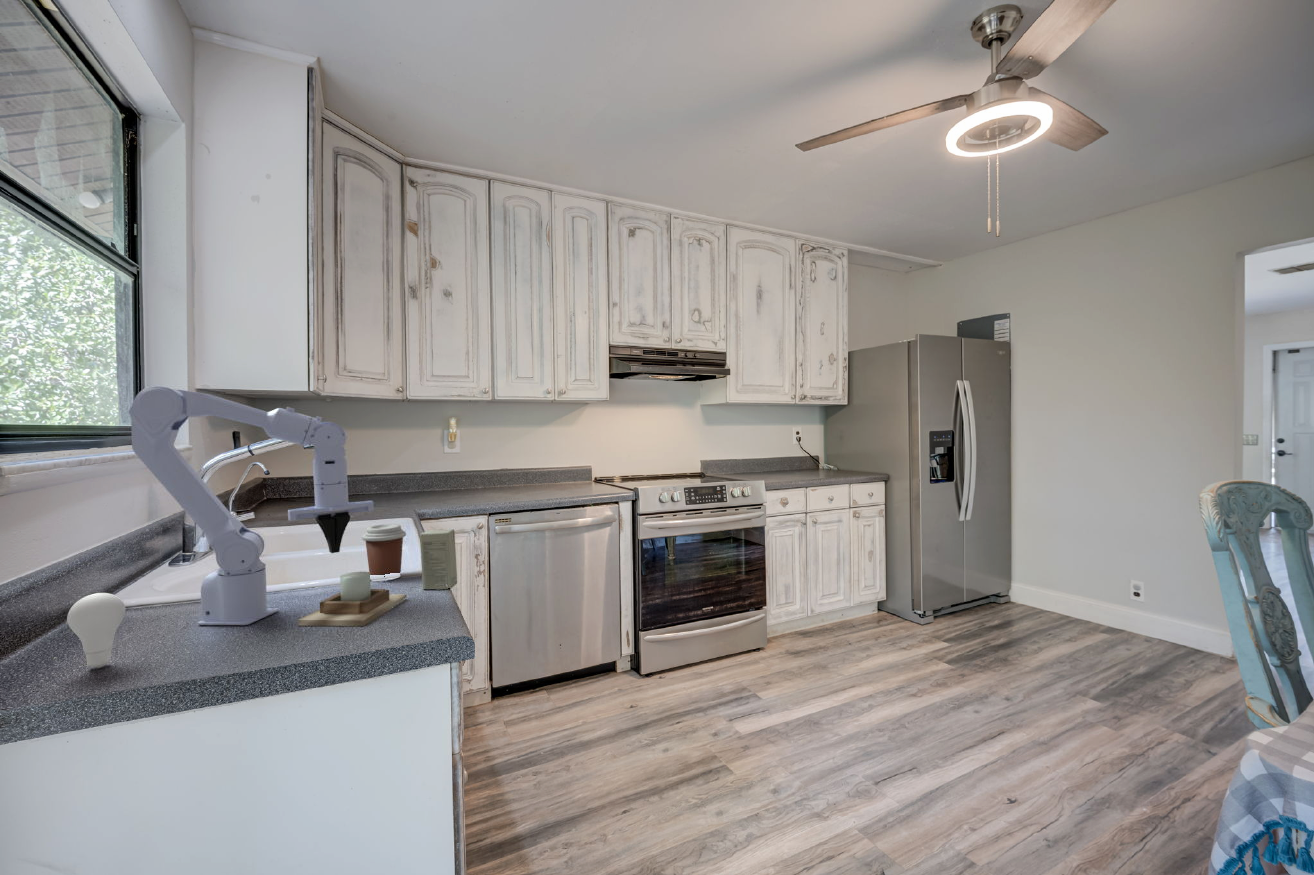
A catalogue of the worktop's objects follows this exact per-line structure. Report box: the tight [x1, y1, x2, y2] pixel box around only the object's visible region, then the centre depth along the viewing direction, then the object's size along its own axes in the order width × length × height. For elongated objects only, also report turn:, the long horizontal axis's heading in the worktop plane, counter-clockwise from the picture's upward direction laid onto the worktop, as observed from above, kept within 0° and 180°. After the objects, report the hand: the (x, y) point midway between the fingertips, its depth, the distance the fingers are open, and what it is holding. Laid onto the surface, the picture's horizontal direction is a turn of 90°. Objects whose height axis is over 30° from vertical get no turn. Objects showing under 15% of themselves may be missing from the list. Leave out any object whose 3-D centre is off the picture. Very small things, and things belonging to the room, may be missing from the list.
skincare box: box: [419, 528, 458, 590], centre depth 122 cm, size 6×4×12 cm
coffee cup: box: [361, 523, 407, 577], centre depth 130 cm, size 9×9×12 cm
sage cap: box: [339, 571, 372, 601], centre depth 107 cm, size 5×5×6 cm
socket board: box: [297, 588, 407, 627], centre depth 107 cm, size 12×15×3 cm
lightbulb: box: [66, 592, 126, 669], centre depth 83 cm, size 6×6×11 cm
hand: (334, 551), depth 111 cm, fingers closed
